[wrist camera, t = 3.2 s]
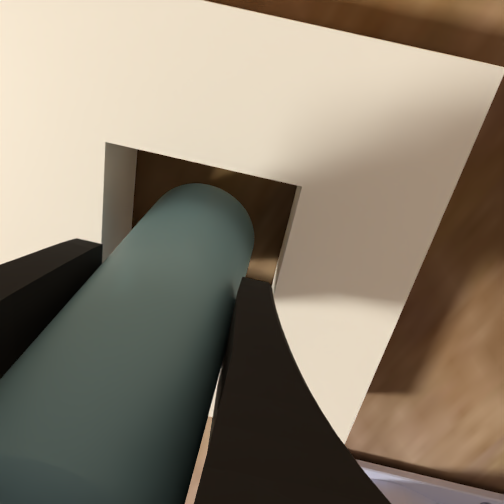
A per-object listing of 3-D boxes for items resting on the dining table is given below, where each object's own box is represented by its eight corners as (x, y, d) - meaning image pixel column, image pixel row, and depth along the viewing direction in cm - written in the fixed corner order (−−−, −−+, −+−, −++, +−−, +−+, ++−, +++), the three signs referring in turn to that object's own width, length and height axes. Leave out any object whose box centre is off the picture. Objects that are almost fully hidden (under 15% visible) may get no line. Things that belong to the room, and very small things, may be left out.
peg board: (470, 59, 12) (506, 68, 9) (339, 393, 17) (342, 448, 15) (-344, -122, 12) (-492, -154, 10) (-213, 263, 18) (-289, 298, 15)
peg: (264, 197, 13) (180, 495, 5) (243, 291, 14) (152, 639, 6) (153, 171, 13) (-117, 422, 5) (144, 268, 14) (-74, 583, 6)
